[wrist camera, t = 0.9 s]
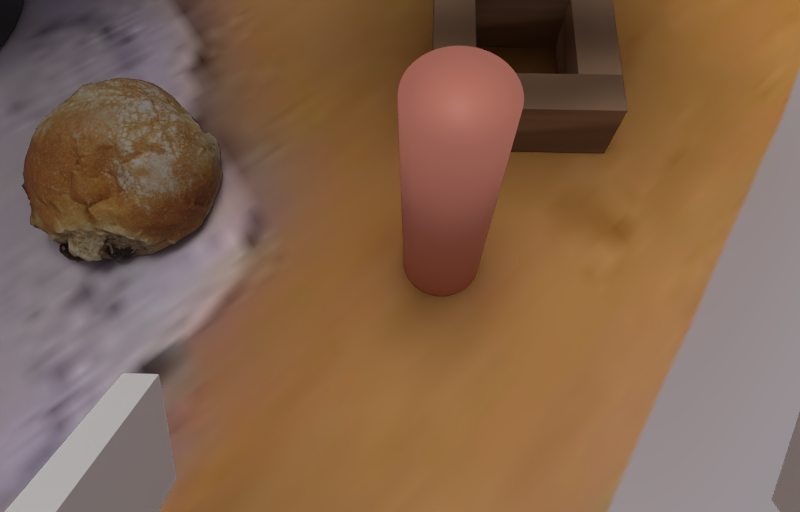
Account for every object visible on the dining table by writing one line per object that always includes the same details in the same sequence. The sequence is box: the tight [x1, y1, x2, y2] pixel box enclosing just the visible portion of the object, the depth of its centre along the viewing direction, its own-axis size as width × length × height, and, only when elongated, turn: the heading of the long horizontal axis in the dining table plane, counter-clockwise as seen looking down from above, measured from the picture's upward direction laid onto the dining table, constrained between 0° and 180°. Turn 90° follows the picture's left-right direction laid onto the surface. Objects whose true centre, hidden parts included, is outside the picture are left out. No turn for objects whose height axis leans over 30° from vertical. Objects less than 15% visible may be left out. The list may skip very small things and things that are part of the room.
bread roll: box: [22, 78, 222, 262], centre depth 32 cm, size 10×10×8 cm
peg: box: [397, 46, 524, 296], centre depth 25 cm, size 4×4×14 cm
